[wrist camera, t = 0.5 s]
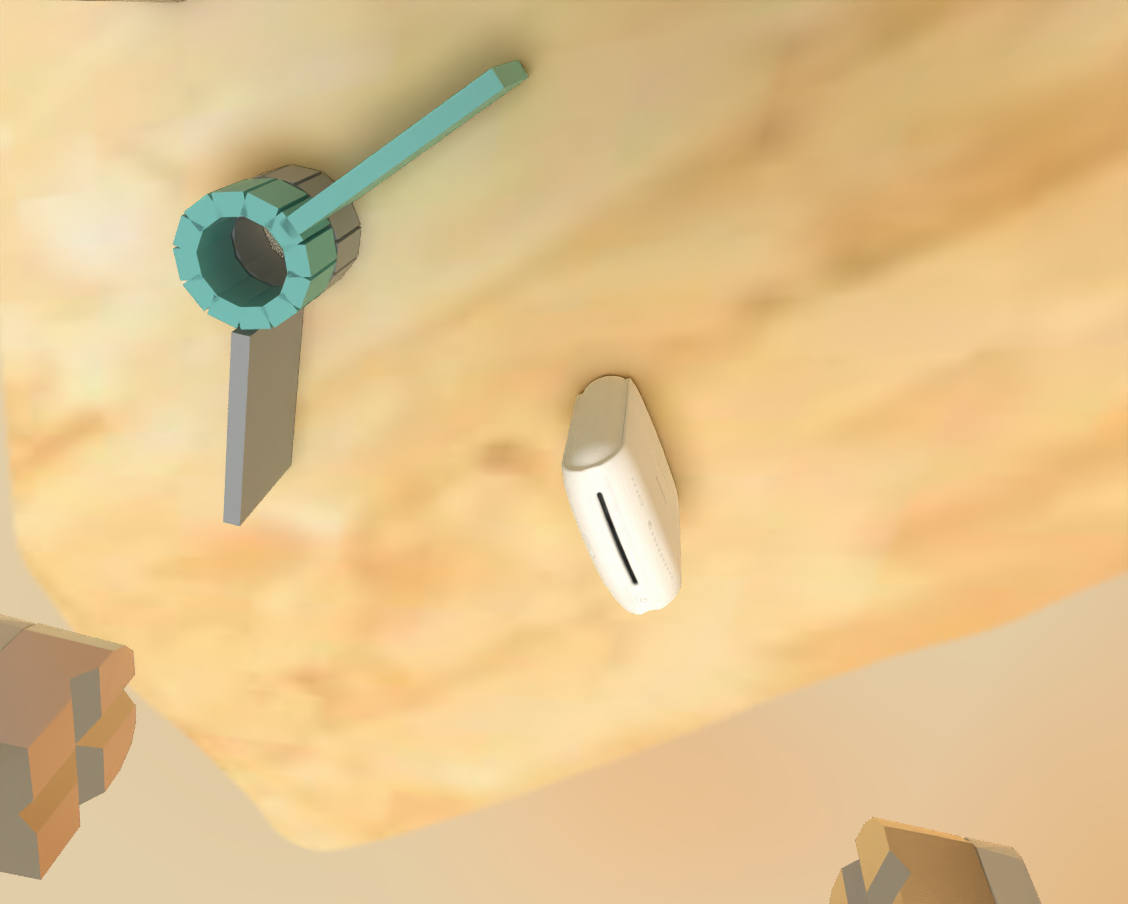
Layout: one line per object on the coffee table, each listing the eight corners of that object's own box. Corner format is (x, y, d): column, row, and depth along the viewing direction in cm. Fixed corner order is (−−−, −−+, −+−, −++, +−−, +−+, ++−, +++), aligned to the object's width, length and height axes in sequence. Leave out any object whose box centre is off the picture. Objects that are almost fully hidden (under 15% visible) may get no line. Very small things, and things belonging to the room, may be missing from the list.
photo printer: (687, 505, 59) (691, 620, 48) (625, 523, 60) (614, 639, 49) (635, 364, 55) (625, 453, 44) (569, 385, 56) (544, 477, 45)
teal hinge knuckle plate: (293, 309, 55) (237, 352, 48) (216, 210, 53) (147, 240, 46) (559, 127, 49) (540, 146, 42) (485, 6, 47) (452, 5, 40)
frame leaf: (246, 153, 52) (178, 176, 45) (366, 181, 52) (316, 209, 45) (232, 451, 61) (173, 510, 53) (334, 475, 60) (289, 537, 53)
